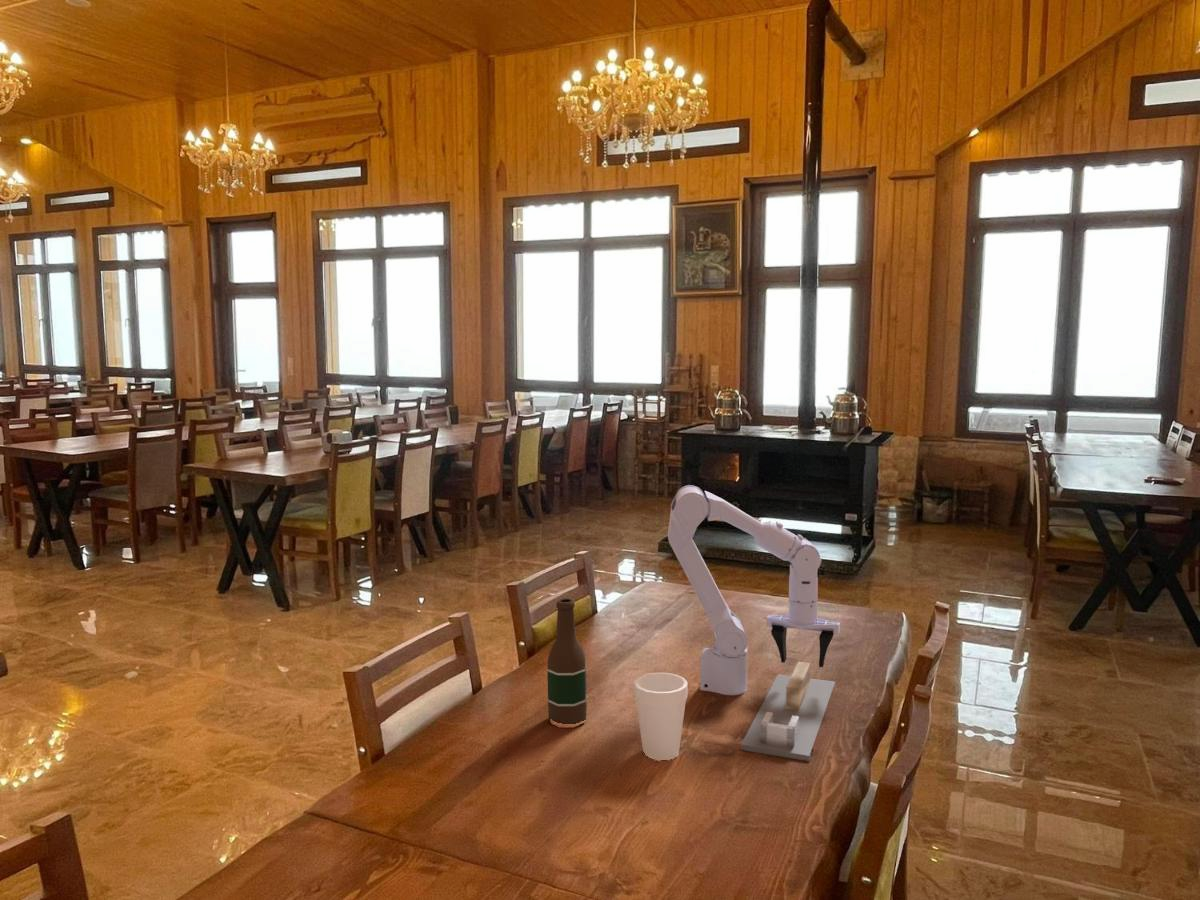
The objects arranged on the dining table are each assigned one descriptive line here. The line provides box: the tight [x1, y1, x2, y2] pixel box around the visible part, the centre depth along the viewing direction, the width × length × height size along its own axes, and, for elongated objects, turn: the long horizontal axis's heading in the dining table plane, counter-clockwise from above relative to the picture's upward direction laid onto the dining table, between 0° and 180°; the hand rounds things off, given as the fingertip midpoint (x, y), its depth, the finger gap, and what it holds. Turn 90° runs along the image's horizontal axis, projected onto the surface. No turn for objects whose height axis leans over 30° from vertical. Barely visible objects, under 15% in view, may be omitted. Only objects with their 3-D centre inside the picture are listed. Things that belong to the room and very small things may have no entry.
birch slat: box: [786, 661, 812, 710], centre depth 173 cm, size 2×14×4 cm, turn 158°
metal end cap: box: [760, 712, 799, 748], centre depth 154 cm, size 6×6×4 cm
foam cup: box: [633, 671, 689, 761], centre depth 151 cm, size 10×9×13 cm
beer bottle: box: [546, 598, 588, 724], centre depth 164 cm, size 8×8×24 cm
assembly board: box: [740, 673, 836, 762], centre depth 166 cm, size 12×35×1 cm, turn 158°
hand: (802, 663), depth 176 cm, fingers open, 7 cm apart
